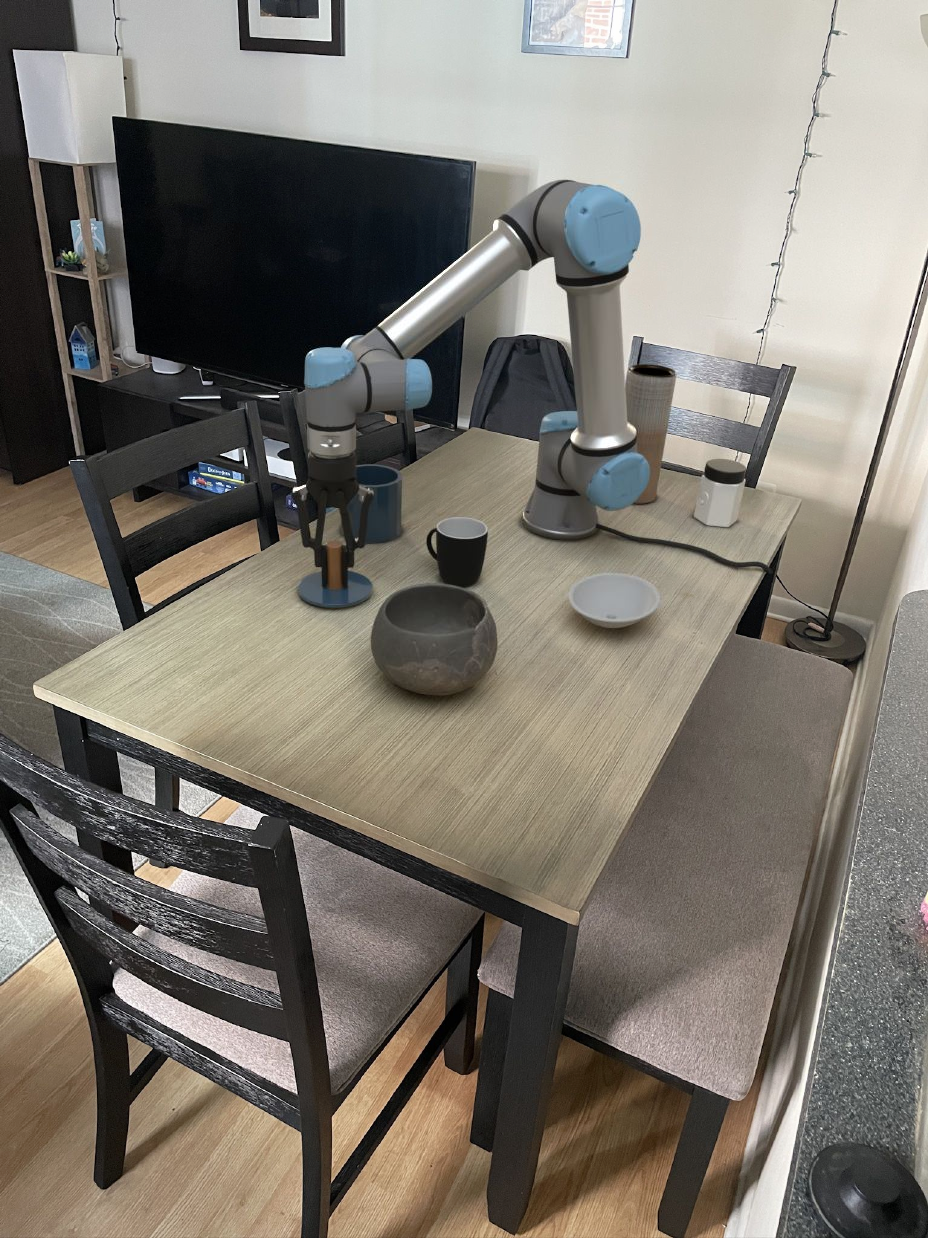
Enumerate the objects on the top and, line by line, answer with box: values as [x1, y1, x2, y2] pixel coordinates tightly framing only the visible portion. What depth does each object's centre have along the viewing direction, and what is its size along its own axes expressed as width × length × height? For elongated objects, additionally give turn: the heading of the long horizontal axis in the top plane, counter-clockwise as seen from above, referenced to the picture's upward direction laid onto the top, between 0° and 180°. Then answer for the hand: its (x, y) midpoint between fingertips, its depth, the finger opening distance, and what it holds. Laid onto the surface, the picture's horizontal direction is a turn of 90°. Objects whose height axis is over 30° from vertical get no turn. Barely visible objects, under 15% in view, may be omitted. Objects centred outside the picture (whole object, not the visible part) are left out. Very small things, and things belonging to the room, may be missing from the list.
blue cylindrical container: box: [340, 463, 403, 544], centre depth 172 cm, size 12×12×12 cm
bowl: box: [370, 582, 499, 696], centre depth 127 cm, size 18×18×13 cm
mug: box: [425, 516, 489, 588], centre depth 157 cm, size 12×9×10 cm
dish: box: [567, 572, 661, 629], centre depth 147 cm, size 18×14×5 cm
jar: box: [693, 458, 747, 528], centre depth 185 cm, size 9×8×12 cm
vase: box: [625, 363, 678, 505], centre depth 190 cm, size 10×10×28 cm
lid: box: [297, 540, 373, 609], centre depth 150 cm, size 13×13×9 cm
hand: (335, 583), depth 152 cm, fingers closed on lid, 3 cm apart
